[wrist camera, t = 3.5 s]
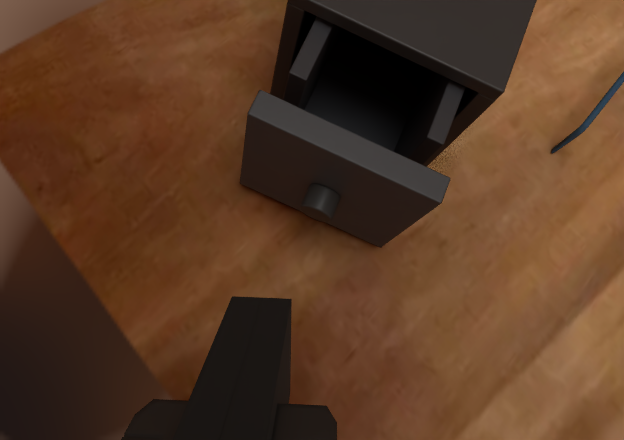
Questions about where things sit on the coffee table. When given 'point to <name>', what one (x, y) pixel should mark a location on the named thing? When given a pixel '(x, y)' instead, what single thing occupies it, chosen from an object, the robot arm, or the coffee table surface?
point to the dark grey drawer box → (424, 41)
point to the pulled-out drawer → (352, 136)
